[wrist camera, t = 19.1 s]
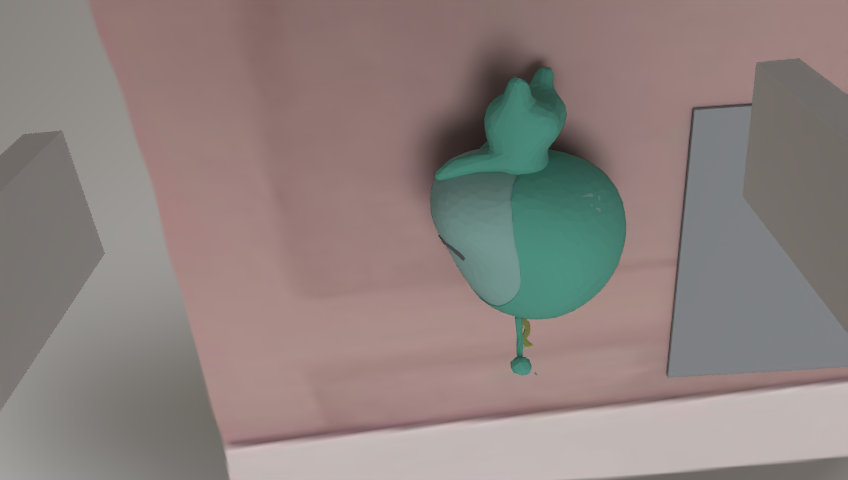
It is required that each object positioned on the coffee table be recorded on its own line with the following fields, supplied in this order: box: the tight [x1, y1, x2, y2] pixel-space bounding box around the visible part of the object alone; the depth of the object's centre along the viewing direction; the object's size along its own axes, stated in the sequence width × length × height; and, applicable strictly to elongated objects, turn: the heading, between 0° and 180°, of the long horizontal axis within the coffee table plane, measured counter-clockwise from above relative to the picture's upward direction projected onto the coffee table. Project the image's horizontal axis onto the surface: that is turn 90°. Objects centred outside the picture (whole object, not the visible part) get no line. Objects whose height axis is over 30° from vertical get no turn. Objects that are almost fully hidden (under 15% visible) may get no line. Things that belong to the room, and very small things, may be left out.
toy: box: [430, 67, 626, 376], centre depth 41 cm, size 10×10×15 cm
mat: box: [667, 104, 848, 378], centre depth 47 cm, size 18×18×1 cm
